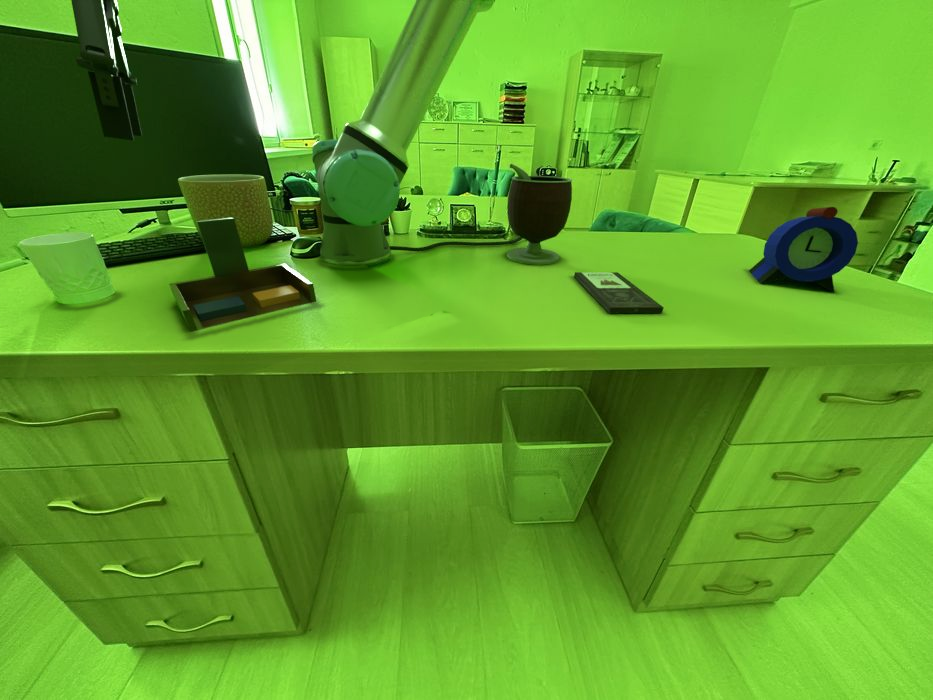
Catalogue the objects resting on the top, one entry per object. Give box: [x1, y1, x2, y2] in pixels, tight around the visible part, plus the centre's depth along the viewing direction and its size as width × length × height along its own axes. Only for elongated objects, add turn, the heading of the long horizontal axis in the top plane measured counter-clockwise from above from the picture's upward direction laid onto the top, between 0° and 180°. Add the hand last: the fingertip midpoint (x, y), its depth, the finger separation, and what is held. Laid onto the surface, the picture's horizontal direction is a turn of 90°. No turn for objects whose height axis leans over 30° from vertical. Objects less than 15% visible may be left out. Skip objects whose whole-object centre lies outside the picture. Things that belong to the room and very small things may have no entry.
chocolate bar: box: [573, 271, 664, 314], centre depth 68 cm, size 9×1×18 cm
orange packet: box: [252, 285, 300, 308], centre depth 59 cm, size 6×4×1 cm, turn 131°
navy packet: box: [193, 296, 247, 321], centre depth 55 cm, size 6×4×1 cm, turn 131°
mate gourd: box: [506, 163, 573, 266], centre depth 83 cm, size 16×14×20 cm
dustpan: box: [168, 218, 317, 333], centre depth 56 cm, size 17×13×12 cm
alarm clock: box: [748, 206, 859, 293], centre depth 73 cm, size 12×12×15 cm
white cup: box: [18, 231, 116, 305], centre depth 57 cm, size 8×8×10 cm
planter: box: [177, 173, 274, 250], centre depth 88 cm, size 17×17×15 cm
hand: (125, 136), depth 50 cm, fingers open, 13 cm apart
